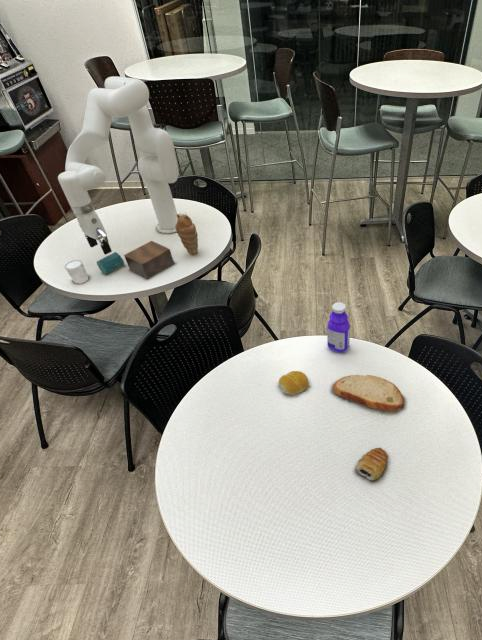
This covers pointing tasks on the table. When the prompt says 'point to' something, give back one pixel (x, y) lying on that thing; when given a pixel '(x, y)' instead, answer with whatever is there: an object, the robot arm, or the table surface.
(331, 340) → the bottle
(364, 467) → the pastry
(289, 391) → the bread roll
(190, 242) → the brown ridged oblong lump
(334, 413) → the table surface
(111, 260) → the drinking cup
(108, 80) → the robot arm
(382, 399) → the bread slice
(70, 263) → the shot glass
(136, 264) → the stand
